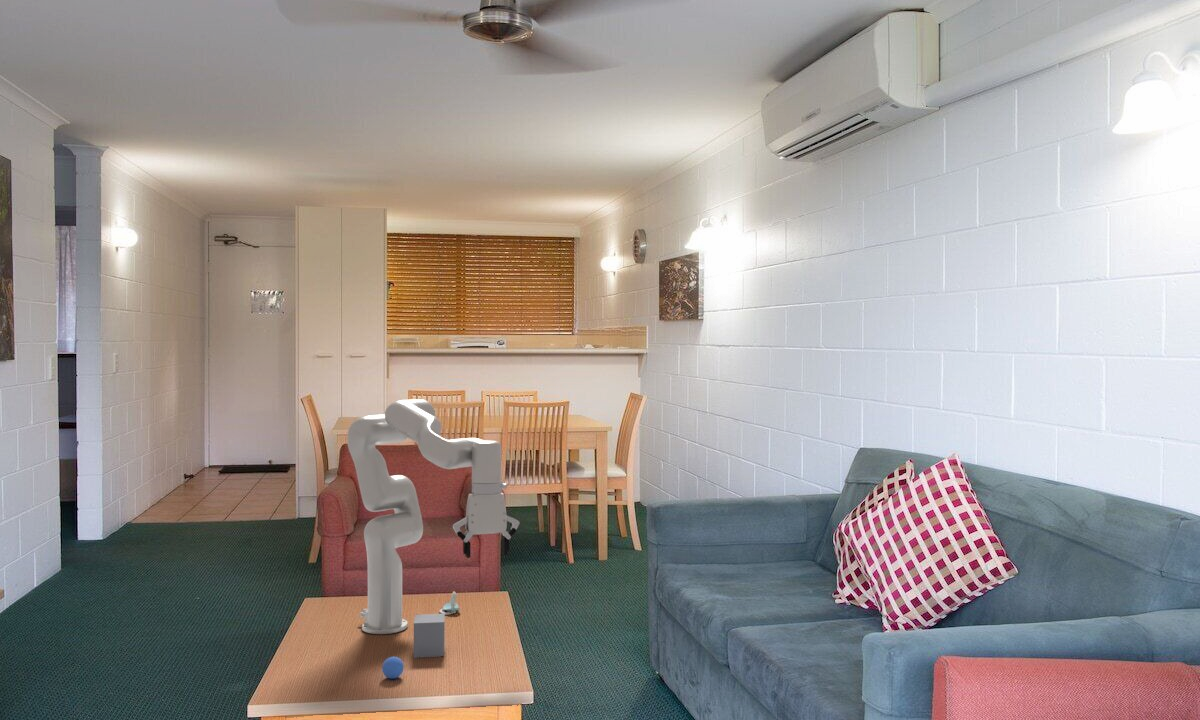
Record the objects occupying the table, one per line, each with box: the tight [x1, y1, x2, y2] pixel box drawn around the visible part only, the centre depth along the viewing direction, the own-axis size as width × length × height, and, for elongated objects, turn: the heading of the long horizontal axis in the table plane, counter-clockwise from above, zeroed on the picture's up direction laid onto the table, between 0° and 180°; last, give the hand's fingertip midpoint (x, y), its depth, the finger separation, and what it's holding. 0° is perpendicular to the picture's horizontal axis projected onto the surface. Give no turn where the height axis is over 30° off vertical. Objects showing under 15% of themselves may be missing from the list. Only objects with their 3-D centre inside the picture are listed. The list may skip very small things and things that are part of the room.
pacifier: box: [438, 591, 461, 616], centre depth 275 cm, size 7×6×6 cm
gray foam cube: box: [413, 613, 446, 659], centre depth 239 cm, size 8×8×9 cm
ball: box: [381, 656, 405, 680], centre depth 220 cm, size 5×5×5 cm
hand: (486, 555), depth 237 cm, fingers open, 9 cm apart
